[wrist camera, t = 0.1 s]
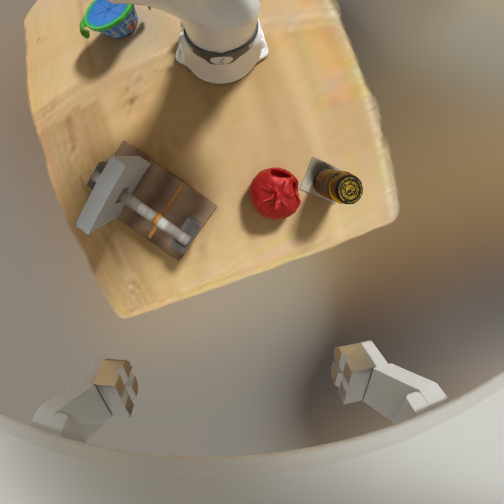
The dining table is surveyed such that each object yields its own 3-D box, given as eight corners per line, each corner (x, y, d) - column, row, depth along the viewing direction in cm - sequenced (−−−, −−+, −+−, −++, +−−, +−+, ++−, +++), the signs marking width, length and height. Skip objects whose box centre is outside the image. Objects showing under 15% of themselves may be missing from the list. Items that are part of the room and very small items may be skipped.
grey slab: (107, 208, 52) (75, 225, 39) (139, 155, 49) (111, 155, 36) (118, 216, 53) (88, 235, 39) (150, 163, 50) (125, 166, 37)
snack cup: (92, 55, 41) (72, 42, 32) (92, 22, 38) (74, 6, 28) (157, 32, 42) (145, 12, 32) (154, 0, 38) (144, -22, 29)
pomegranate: (269, 224, 58) (277, 237, 49) (237, 188, 55) (239, 195, 46) (305, 193, 56) (319, 201, 48) (275, 156, 53) (283, 157, 44)
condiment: (334, 203, 57) (358, 215, 46) (299, 188, 56) (317, 196, 45) (346, 173, 55) (373, 177, 44) (312, 156, 54) (333, 156, 43)
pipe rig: (92, 197, 52) (72, 204, 44) (125, 141, 49) (107, 139, 41) (179, 258, 58) (171, 276, 50) (217, 205, 56) (215, 214, 47)
